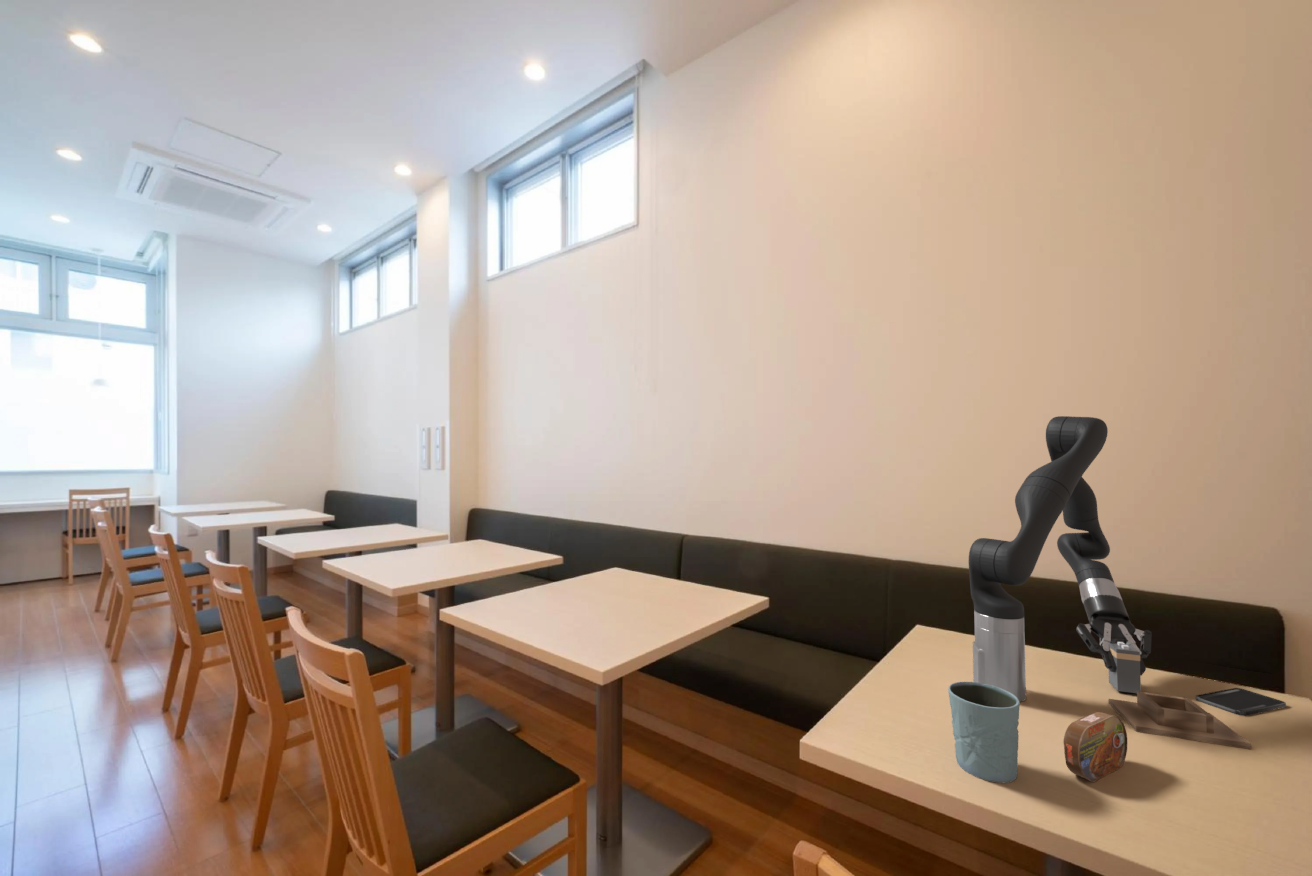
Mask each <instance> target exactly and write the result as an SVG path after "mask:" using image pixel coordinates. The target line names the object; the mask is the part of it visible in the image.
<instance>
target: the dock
mask: <svg viewBox="0 0 1312 876" xmlns="http://www.w3.org/2000/svg"><path fill="white" fill-rule="evenodd" d="M1108 704H1109V705H1110V706H1111V708H1112V709H1113V710H1115V711H1116V713H1118V715H1120V717H1122V719H1124V721H1125V722H1126V723H1127V724H1128V725H1130V727H1131V728H1132V729H1134V730H1135V731H1136V732H1137V733H1144V734H1150V735H1151V734H1152V735H1159V736H1165V737H1170V738H1177V739H1184V740H1190V741H1195V742H1204V743H1210V744H1214V745H1215V744H1216V745H1223V746H1226V747H1227V746H1228V747H1234V748H1241V749H1245V750H1246V749H1247V750H1251V749H1252V743H1251V742H1250V741H1248V740H1247V739H1245V738H1244V737H1243V736H1242V735H1240V734H1238V732H1236V731H1235V730H1233V729H1232V728H1231V727H1230V726H1228V725H1227V724H1226V723H1224V722H1222V721H1221V720H1220V719H1219V718H1217V717H1216V716H1214V715H1213V714H1212V713H1211V712H1208V711H1206V710H1205V709H1204V708H1202V707H1201V706H1200V705H1198V704H1197V703H1195V701H1193V700H1192V699H1190V698H1189V697H1184V696H1183V697H1181V696H1175V695H1168V694H1167V695H1166V694H1159V693H1153V692H1145V691H1141V692H1139V691H1137V693H1136V701H1129V700H1121V699H1113V698H1108Z"/></svg>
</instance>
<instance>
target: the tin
mask: <svg viewBox="0 0 1312 876" xmlns="http://www.w3.org/2000/svg"><path fill="white" fill-rule="evenodd" d="M1063 748H1064V749H1063V750H1064V759H1065V765H1066V767H1067V769H1068V771H1070V772H1071V773H1072V774H1074V775H1076V776H1078V777H1081V778H1083V779H1086V780H1087V781H1089V782H1093V783H1094V782H1096V781H1097V782H1098V780H1101V779H1102V778H1105V777H1106V776H1108V775H1109V774H1110V775H1111V774H1112V773H1114V772H1115V771H1117V770H1120V769H1121V767H1122V766H1123V764H1124V762H1125V760H1126V758H1127V754H1128V753H1127V752H1128V733H1127V730H1126V725H1125V724H1124V721H1123V720H1122V719H1121V718H1120V717H1119V716H1116V715H1112V714H1108V713H1105V712H1101V711H1097V712H1093V713H1091V714H1088V715H1086V716H1083V717H1082V718H1079V719H1077V720H1074V721H1072V722H1071V723H1070V724H1069V725H1068V726H1067V728H1066V730H1065V733H1064V736H1063Z"/></svg>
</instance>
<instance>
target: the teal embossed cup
mask: <svg viewBox="0 0 1312 876" xmlns="http://www.w3.org/2000/svg"><path fill="white" fill-rule="evenodd" d="M947 690H948V691H947V692H948V698H949V705H950V713H951V719H952V720H951V724H952V732H953V733H952V734H953V737H954V741H955V742H954V751H955V759H956V762H957V765H958V766H959V767H960V768H961V769H962V770H964V772H966V773H967V774H969V775H971V776H973V777H976V778H977V779H981V780H983V781H987V782H992V783H997V784H998V783H1001V784H1002V783H1003V784H1005V783H1006V784H1008V783H1012V782H1014V781H1015V780H1016V779H1017V775H1018V764H1019V763H1018V756H1019V754H1018V753H1019V752H1018V751H1019V732H1020V731H1019V729H1018V726H1019V718H1020V702H1021V701H1020V702H1019V700H1018V698H1017V697H1016V696H1015V695H1013V694H1012V693H1010V692H1008V691H1006V690H1003V689H1001V688H999V687H996V686H992V685H988V684H983V683H977V682H973V681H958V682H954V683H951V684H950V685H948V688H947Z"/></svg>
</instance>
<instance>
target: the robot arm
mask: <svg viewBox="0 0 1312 876" xmlns="http://www.w3.org/2000/svg"><path fill="white" fill-rule="evenodd" d="M1108 430H1109V429H1108V426H1107V423H1106V421H1104V420H1103V419H1101V418H1098V417H1091V416H1065V415H1064V416H1055V417H1053V418H1051V419H1050V420H1049V422H1048V423H1047V425H1046V428H1045V442H1046V447H1047V450H1048V454H1049V457H1050V460H1051V461H1050V462H1048V463H1046V464H1044V465H1042V466H1040V467H1038V468H1036V469H1035V470H1033V471H1032V472H1030V473H1029V474H1028V475H1027V477H1026V478H1025V479H1024V481H1023V483H1022V484H1021V485H1020V487H1019V489H1018V490H1017V492H1016V493H1015V494H1016V495H1015V498H1014V504H1015V509H1016V513H1017V516H1018V518H1019V521H1020V525H1021V526H1020V529H1019V531H1018V533H1017V535H1016V537H1015V538H1014V539H1013V540H1010V541H1008V540H1002V539H995V538H988V537H987V538H986V537H981V538H977V539H975V540H974V541H973V543H972V544H971V546H970V548H969V553H968V572H969V573H968V575H969V585H970V588H969V589H970V596H971V597H970V598H971V599H972V602H973V609H974V610H973V611H974V612H973V614H974V619H973V620H974V622H973V623H974V641H973V642H972V664H973V665H972V667H973V668H972V671H973V672H972V674H973V677H972V679H973V681H972V682H977V683H983V684H988V685H992V686H996V687H999V688H1001V689H1003V690H1006V691H1008V692H1010V693H1012V694H1013V695H1015V696H1016V697H1017V698H1018V700H1019V702H1023V701H1026V700H1027V699H1026V698H1027V684H1026V682H1027V681H1026V676H1027V675H1026V641H1025V640H1026V638H1025V606H1024V604H1023V603H1022V601H1020V600H1019V599H1017V598H1015V597H1013V596H1012V595H1011V594H1009V593H1008V591H1006V590H1005V589H1004V588H1003V587H1002V585H1001V584H1005V585H1008V586H1022V585H1023V584H1025V583H1026V582H1027V581H1028V580H1029V579H1030V577H1031V575H1032V574H1033V572H1034V570H1035V567H1036V565H1037V563H1038V560H1039V558H1040V555H1041V552H1042V550H1043V548H1044V546H1045V544H1046V541H1047V539H1048V536H1049V534H1050V532H1051V531H1052V529H1053V528H1054V525H1055V523H1056V522H1057V520H1058V519H1059V517H1060V515H1061V513H1062V517H1063V522H1064V524H1065V526H1066V527H1068V528H1070V529H1073V530H1077V531H1084V532H1067V533H1066V532H1065V533H1063V534H1061V535H1060V536H1059V537H1058V539H1057V541H1056V544H1057V545H1056V546H1057V549H1058V552H1059V554H1061V556H1062V558H1063V559H1064V560H1065V561H1066V563H1067V564H1068V566H1069V567H1070V568H1071V570H1072V571H1073V573H1074V575H1075V578H1076V580H1077V581H1076V582H1077V584H1078V587H1079V592H1080V593H1079V594H1080V598H1081V602H1082V604H1083V607H1084V610H1085V613H1086V617H1087V619H1088V623H1086V624H1085V623H1082V622H1080V623H1078V625H1077V626H1076V629H1075V630H1076V632H1077V634H1078V635H1079V637H1080V638H1081V640H1082V641H1083V643H1085V645H1086V647H1087V648H1088V649H1089V651H1090V652H1092V653H1098V654H1100V655H1101V657H1102V660H1103V664H1104V666H1105V667H1106V669H1107V670H1108V669H1109V670H1110V672H1115V671H1116V669H1117V667H1116V664H1115V661H1114V658H1113V655H1112V653H1111V652H1110V651H1109V650H1110V646H1109V643H1117V642H1123V643H1125V644H1127V645H1131V646H1132V647H1134V648H1135V649H1137V650H1138V651H1139V652H1140V677H1142V676H1143V674H1144V673H1145V672H1146V670H1147V668H1146V667H1147V666H1146V665H1145V662H1144V660H1143V659H1147V658H1148V656H1150V654H1151V653H1152V636H1153V633H1152V631H1151V630H1149V629H1145V630H1141V629H1138V628H1136V626H1135V625H1134V624H1133V623H1131V620H1130V617H1129V614H1128V612H1127V609H1126V607H1125V604H1124V601H1123V598H1122V596H1121V593H1120V591H1119V589H1118V588H1117V586H1116V583H1115V581H1114V579H1113V576H1112V575H1113V574H1111V570H1110V568H1109V567H1108V565H1107V564H1105V563H1104V562H1102V561H1099V560H1105V559H1106V558H1107V557H1108V556H1109V555H1110V552H1111V546H1110V544H1109V542H1108V540H1107V538H1106V536H1105V533H1104V532H1103V529H1102V527H1101V525H1100V521H1099V515H1098V514H1099V513H1098V501H1097V497H1096V495H1095V492H1094V490H1093V489H1092V487H1091V486H1090V485H1089V483H1088V482H1087V481H1086V480H1085V479H1084V477H1083V475H1084V473H1085V472H1086V471H1087V470H1088V469H1089V468H1090V466H1091V465H1092V463H1093V462H1094V460H1095V459H1096V458H1097V456H1098V455H1099V454H1100V452H1101V451H1102V449H1103V448H1104V446H1105V444H1106V441H1107V437H1108V432H1109V431H1108ZM1092 632H1093V633H1094V634H1095V635H1096V636H1097V637H1099V642H1098V641H1097V640H1096V639H1095V637H1094V636H1093V634H1092ZM1135 635H1136V638H1137V639H1138V641H1140V646H1139V647H1140V648H1139V647H1138V646H1137V644H1136V643H1137V642H1136V641H1135V640H1134V638H1133V636H1135Z"/></svg>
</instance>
